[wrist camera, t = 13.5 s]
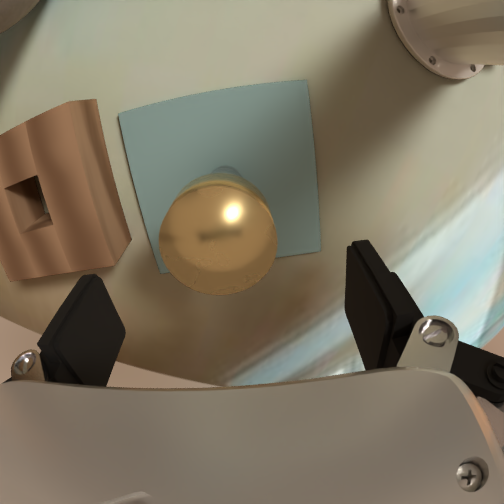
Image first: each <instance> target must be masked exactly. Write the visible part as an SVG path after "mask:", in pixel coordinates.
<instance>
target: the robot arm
mask: <svg viewBox="0 0 504 504" xmlns="http://www.w3.org/2000/svg"><path fill="white" fill-rule="evenodd" d="M388 8H389V14H390V17H391V20H392V23H393V26H394V28H395V30H396V32H397V34H398V36H399V38H400V39H401V41H402V42H403V44H404V45H405V47H406V48H407V49H408V51H409V52H410V53H411V54H412V55H413V57H414V58H415V59H416V60H418V61H419V62H420V63H421V64H422V65H423V66H424V67H426V68H427V69H429V70H430V71H432V72H433V73H435V74H438V75H440V76H442V77H446V78H449V79H468V78H470V77H473V76H475V75H476V74H478V73H479V72H480V71H481V70H482V68H483V67H484V66H485V65H504V0H388ZM345 313H346V316H347V319H348V321H349V324H350V327H351V330H352V332H353V335H354V338H355V341H356V344H357V347H358V349H359V352H360V355H361V358H362V361H363V364H364V367H365V370H366V371H359V372H352V373H346V374H339V375H333V376H326V377H319V378H311V379H303V380H295V381H287V382H278V383H269V384H258V385H246V386H231V387H213V388H178V389H177V388H171V389H162V388H160V389H158V388H156V389H154V388H122V387H121V388H120V387H106V385H107V383H108V380H109V377H110V374H111V372H112V369H113V366H114V363H115V361H116V358H117V356H118V353H119V350H120V348H121V345H122V343H123V340H124V338H125V334H126V332H125V327H124V325H123V323H122V321H121V319H120V317H119V315H118V313H117V311H116V309H115V307H114V305H113V303H112V300H111V298H110V296H109V294H108V292H107V289H106V287H105V285H104V283H103V280H102V279H101V278H100V277H98V276H97V275H96V274H90V275H83V276H82V277H81V278H80V279H79V281H78V282H77V284H76V285H75V286H74V288H73V289H72V291H71V292H70V294H69V295H68V296H67V298H66V299H65V301H64V302H63V304H62V305H61V307H60V308H59V310H58V311H57V313H56V314H55V316H54V317H53V319H52V321H51V322H50V324H49V325H48V327H47V328H46V330H45V332H44V333H43V335H42V337H41V338H40V340H39V342H38V343H37V345H38V346H39V348H40V349H41V353H40V354H39V353H38V352H37V351H36V350H27V351H25V352H23V353H21V354H20V355H19V356H18V357H17V358H16V359H15V360H14V362H13V364H12V367H11V376H12V377H11V378H9V379H8V380H6V381H5V382H3V383H2V384H0V504H504V357H501V356H498V355H495V354H493V353H490V352H488V351H485V350H482V349H480V348H477V347H474V346H472V345H469V344H466V343H464V342H461V341H458V339H459V333H458V330H457V328H456V326H455V325H454V324H453V323H452V322H451V321H449V320H448V319H446V318H443V317H440V316H427V317H424V316H423V314H422V313H421V311H420V310H419V308H418V306H417V305H416V303H415V302H414V300H413V298H412V297H411V295H410V294H409V292H408V291H407V289H406V288H405V286H404V285H403V283H402V282H401V280H400V279H399V277H398V276H397V274H396V273H395V272H390V271H389V269H388V268H387V266H386V265H385V263H384V262H383V261H382V259H381V258H380V256H379V255H378V253H377V252H376V250H375V249H374V247H373V246H372V245H371V243H370V242H369V240H360V241H353V242H352V244H351V246H348V247H347V259H346V288H345Z"/></svg>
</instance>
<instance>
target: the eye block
mask: <svg viewBox="0 0 504 504" xmlns="http://www.w3.org/2000/svg"><path fill="white" fill-rule="evenodd" d="M35 175H38V178H39V182H40V185H41V188H42V192H43V195H44V198H45V201H46V204H47V207H48V210H49V213H46V214H45V211H44V208H43V205H42V202H41V199H40V196H39V193H38V189H37V186H36V183H35V179H34V176H35ZM131 240H132V239H131V236H130V233H129V229H128V226H127V223H126V220H125V216H124V213H123V210H122V206H121V203H120V199H119V196H118V192H117V188H116V185H115V181H114V177H113V173H112V169H111V165H110V161H109V157H108V153H107V149H106V144H105V140H104V135H103V131H102V126H101V121H100V116H99V111H98V106H97V100H96V99H90V100H79V101H69V102H66V103H64V104H62V105H60V106H57V107H55V108H53V109H51V110H48V111H46V112H44V113H42V114H40V115H38V116H36V117H34V118H32V119H30V120H28V121H26V122H24V123H22V124H20V125H18V126H16V127H14V128H12V129H11V130H9V131H7V132H5V133H3V134H2V135H0V261H1V263H2V266H3V268H4V270H5V272H6V274H7V276H8V278H9V280H10V282H12V281H18V280H24V279H31V278H37V277H44V276H50V275H57V274H63V273H70V272H76V271H83V270H89V269H96V268H102V267H109V266H115V265H116V263H117V261H118V260H119V258H120V257H121V255H122V254H123V252H124V251H125V249H126V247H127V246H128V244H129V243H130V241H131Z"/></svg>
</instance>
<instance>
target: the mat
mask: <svg viewBox="0 0 504 504" xmlns="http://www.w3.org/2000/svg"><path fill="white" fill-rule="evenodd" d="M118 116H119V121H120V125H121V130H122V135H123V140H124V144H125V149H126V153H127V157H128V162H129V166H130V170H131V174H132V178H133V182H134V186H135V190H136V194H137V197H138V201H139V205H140V208H141V212H142V216H143V219H144V223H145V226H146V229H147V233H148V236H149V239H150V243H151V246H152V249H153V252H154V256H155V259H156V262H157V265H158V268H159V271H160V274H162V273H170V271H169V270H168V269H167V267H166V265H165V264H164V262H163V259H162V257H161V254H160V249H159V231H160V227H161V224H162V221H163V219H164V217H165V215H166V213H167V212H168V210H169V208H170V206H171V205H172V203H173V201H174V199H175V198H176V196H177V194H178V193H179V192H180V191H181V189H182V188H183V187H184V186H185V185H187V184H188V183H189V182H191V181H192V180H194V179H196V178H198V177H201V176H203V175H207V174H210V173H211V172H212V171H213V170H214V169H215V168H217V167H220V166H230V167H233V168H235V169H236V170H237V171H238V172H239V173H240V174H241V177H242V178H244V179H246V180H248V181H249V182H251V183H252V184H253V185H255V186H256V187H257V188H258V189H259V190H260V191H261V193H262V194H263V196H264V197H265V199H266V201H267V203H268V205H269V208H270V211H271V215H272V218H273V222H274V225H275V228H276V233H277V242H278V245H277V253H276V256H275V258H277V257H284V256H291V255H298V254H305V253H312V252H319V251H321V240H320V219H319V201H318V186H317V172H316V160H315V149H314V138H313V128H312V119H311V110H310V101H309V93H308V85H307V80H297V81H284V82H274V83H264V84H256V85H248V86H240V87H234V88H227V89H221V90H215V91H209V92H204V93H199V94H194V95H189V96H184V97H180V98H175V99H171V100H166V101H162V102H158V103H154V104H150V105H147V106H143V107H139V108H136V109H132V110H129V111H125V112H122V113H119V114H118Z"/></svg>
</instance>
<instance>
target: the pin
mask: <svg viewBox="0 0 504 504" xmlns="http://www.w3.org/2000/svg"><path fill="white" fill-rule="evenodd" d="M277 245H278V242H277V233H276V228H275V225H274V222H273V218H272V215H271V211H270V208H269V205H268V203H267V201H266V199H265V197H264V196H263V194H262V193H261V191H260V190H259V189H258V188H257V187H256V186H255V185H253V184H252V183H251V182H249V181H248V180H246V179H244V178H242V177H241V174H240V173H239V172H238V171H237V170H236V169H235V168H233V167H230V166H220V167H217V168H215V169H214V170H213V171H212V172H211V173H210V174H207V175H203V176H201V177H198V178H196V179H194V180H192V181H191V182H189V183H188V184H187V185H185V186H184V187H183V188H182V189H181V191H180V192H179V193H178V194H177V196H176V198H175V199H174V201H173V203H172V205H171V206H170V208H169V210H168V212H167V213H166V215H165V217H164V219H163V221H162V224H161V227H160V231H159V249H160V254H161V257H162V259H163V262H164V264H165V265H166V267H167V269H168V270H169V271H170V273H171V274H172V275H173V276H174V277H175V278H176V279H177V280H178V281H180V282H181V283H182V284H184V285H185V286H187V287H189V288H191V289H193V290H195V291H198V292H201V293H205V294H211V295H228V294H233V293H237V292H240V291H243V290H245V289H248V288H250V287H251V286H253V285H255V284H256V283H257V282H258V281H260V280H261V279H262V278H263V277H264V276H265V275H266V273H267V272H268V271H269V269H270V268H271V266H272V264H273V262H274V259H275V256H276V253H277Z"/></svg>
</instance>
